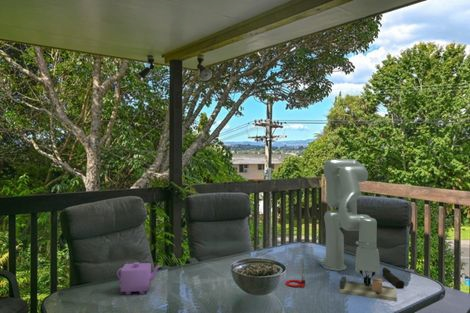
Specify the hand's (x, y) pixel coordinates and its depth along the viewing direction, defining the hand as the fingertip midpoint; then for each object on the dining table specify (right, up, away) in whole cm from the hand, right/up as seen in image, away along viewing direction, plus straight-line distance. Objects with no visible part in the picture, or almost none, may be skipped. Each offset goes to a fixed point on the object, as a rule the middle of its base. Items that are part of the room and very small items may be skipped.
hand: (367, 285), depth 161 cm
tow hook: (-31, -3, +9) cm, 33 cm away
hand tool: (+16, -4, +14) cm, 22 cm away
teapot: (-103, -2, 0) cm, 103 cm away
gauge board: (0, -3, 0) cm, 3 cm away
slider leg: (+4, -1, -2) cm, 4 cm away
